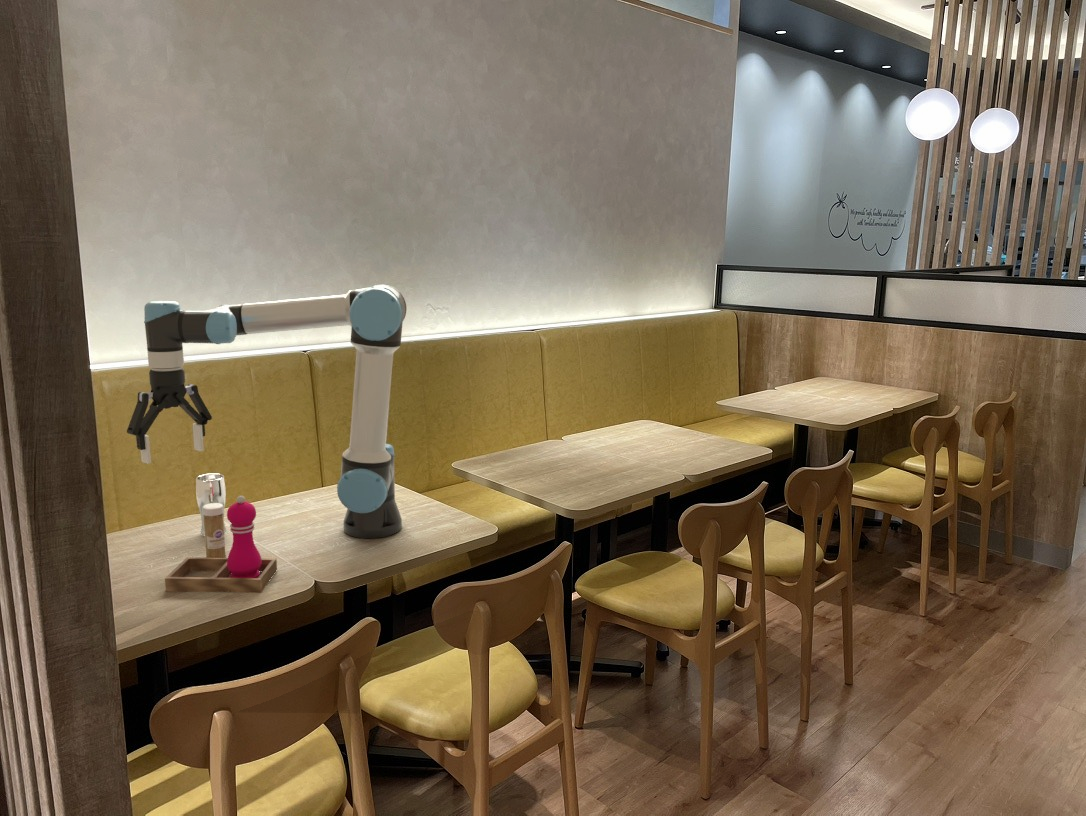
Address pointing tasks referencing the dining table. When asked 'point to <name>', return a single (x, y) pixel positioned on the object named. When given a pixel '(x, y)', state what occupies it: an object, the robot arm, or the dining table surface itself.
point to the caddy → (217, 577)
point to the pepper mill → (243, 541)
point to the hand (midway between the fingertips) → (173, 456)
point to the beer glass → (210, 492)
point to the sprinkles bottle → (214, 530)
